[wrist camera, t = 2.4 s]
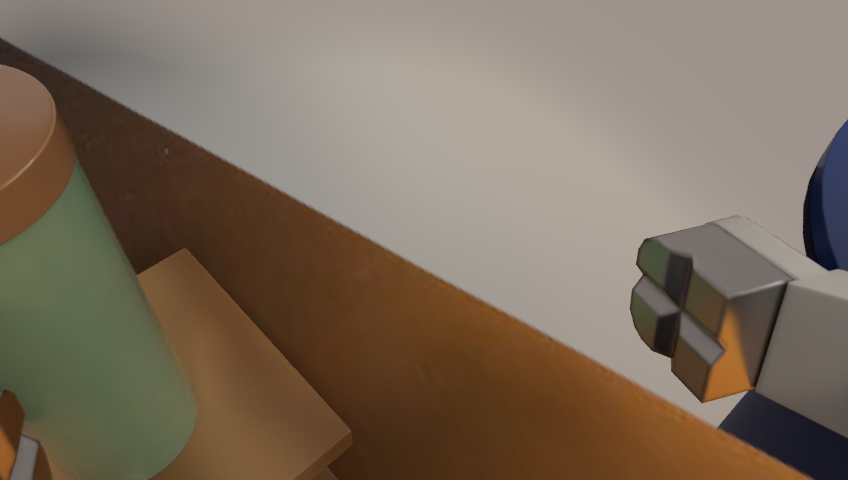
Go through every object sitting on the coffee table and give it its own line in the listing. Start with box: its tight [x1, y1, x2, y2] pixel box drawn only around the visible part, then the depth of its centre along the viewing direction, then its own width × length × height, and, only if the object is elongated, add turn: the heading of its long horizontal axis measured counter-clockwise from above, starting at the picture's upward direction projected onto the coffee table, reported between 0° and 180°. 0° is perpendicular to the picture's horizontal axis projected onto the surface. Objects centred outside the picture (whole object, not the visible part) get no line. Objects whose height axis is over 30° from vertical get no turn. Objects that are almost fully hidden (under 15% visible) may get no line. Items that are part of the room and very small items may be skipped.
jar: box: [0, 65, 198, 480], centre depth 18 cm, size 5×5×13 cm
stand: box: [48, 248, 353, 480], centre depth 26 cm, size 11×11×6 cm
